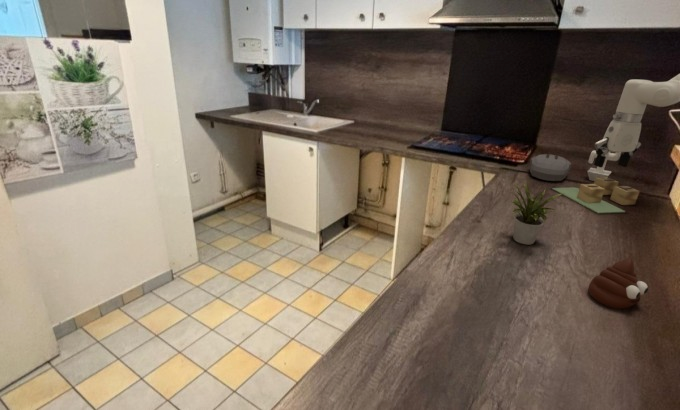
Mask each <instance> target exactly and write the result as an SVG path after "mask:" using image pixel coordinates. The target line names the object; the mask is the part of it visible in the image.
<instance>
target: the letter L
mask: <svg viewBox="0 0 680 410" xmlns="http://www.w3.org/2000/svg"><path fill="white" fill-rule="evenodd" d="M593 184H595V185H597V186H600V187H602V188H604V189H605V190H604V193H603V196H611V195H612V192H613V190H614V187H615V186H619V181H618V180H615V179H612V178H610V177H609V176H608V177H606V178H595V181H593Z"/></svg>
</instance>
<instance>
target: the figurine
mask: <svg viewBox="0 0 680 410" xmlns="http://www.w3.org/2000/svg"><path fill="white" fill-rule="evenodd" d="M604 151H605V150H604ZM604 151H603V152H604ZM621 154H622V152H611V151H610V152H608V153H607V154H606V155H605V157H606V159H605V162H604V164H603V167H598V166H596V167H590V168H589V169H587V177H588V180H589V181H592V182H594V181H595V178H606V177H608V178H609V176H610V175H611V173H612V171H611V170H605V167H606V165H607V162H608V161H612V162H617V161H619V159H620V157H621ZM596 157H597V154H596V151H595V149H594V150H592V151H591V152H590V155H589V157H588V161H587V163H588V164H594V162H595V161H594V160H595V159H596Z"/></svg>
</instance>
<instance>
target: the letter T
mask: <svg viewBox="0 0 680 410" xmlns="http://www.w3.org/2000/svg"><path fill="white" fill-rule="evenodd" d="M640 192H641V191H640V190H638V189H636V188H633V187H631V186H628V185H617V186H615V187H614V190H613V192H612V195H610V198H609V200H610V201H612V202H614V203H617V204H619V205H620V206H633V205H636V202H637V200H638V198H639V194H640Z"/></svg>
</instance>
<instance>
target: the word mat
mask: <svg viewBox="0 0 680 410" xmlns="http://www.w3.org/2000/svg"><path fill="white" fill-rule="evenodd" d="M579 189H580V188H578V187H571V186H570V187H552V188H551V190H553V191H555V192H556V193H557V194H563V195H562V196H564V197H566V198H567V199H570V200H571V201H573V202H575V203H577V204H579V205H581V206H583V207H584V208H586V209H588V210H590V211H592V212H594V213H596V214H597V215H598V214H599V215H600V214H618V213H619V214H620V213H621V214H623V213H626V211H625V209H622V208H619V207H618V206H615V205H613V204H611V203H609V202H607V201H605V200H603V199H601V202H598V203H587V202H585V201H583V200H581V199H579V198H577V195H578V192H579Z"/></svg>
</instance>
